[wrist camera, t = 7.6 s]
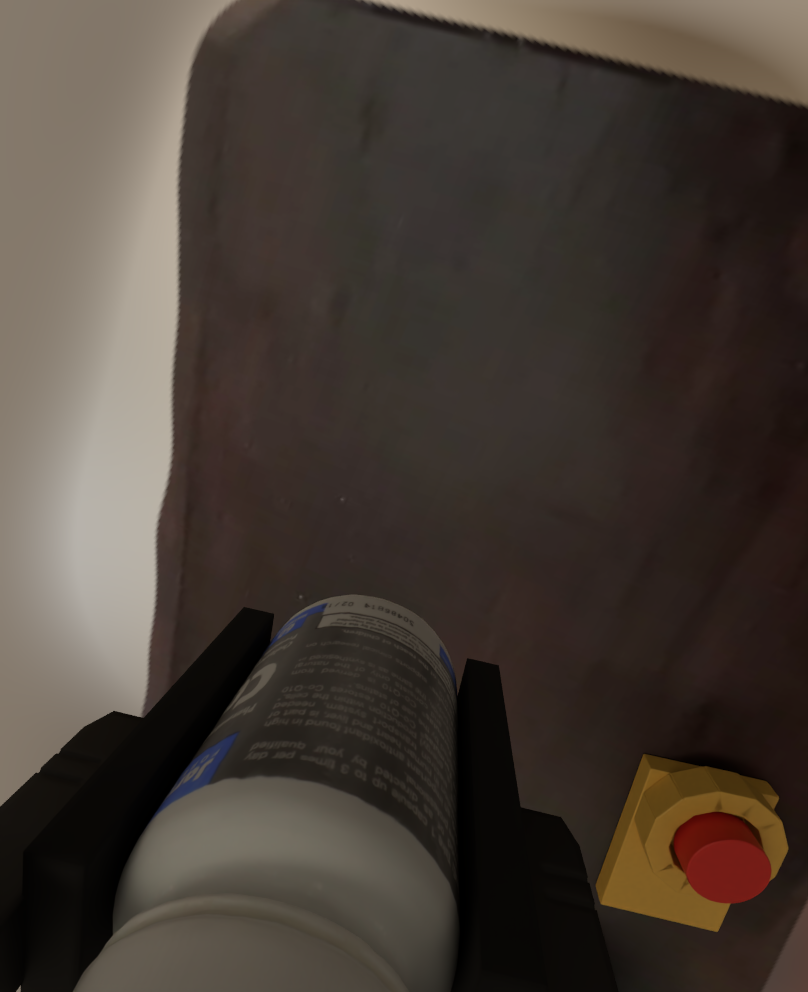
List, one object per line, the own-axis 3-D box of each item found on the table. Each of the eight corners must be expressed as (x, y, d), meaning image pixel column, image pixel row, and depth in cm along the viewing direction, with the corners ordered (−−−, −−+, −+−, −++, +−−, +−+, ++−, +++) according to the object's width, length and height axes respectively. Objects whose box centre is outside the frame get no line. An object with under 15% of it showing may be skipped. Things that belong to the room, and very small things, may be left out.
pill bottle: (283, 569, 12) (-56, 956, 4) (476, 615, 12) (529, 1115, 4) (256, 736, 13) (-52, 1298, 5) (433, 780, 13) (400, 1437, 5)
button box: (648, 739, 29) (669, 780, 26) (773, 766, 29) (809, 811, 26) (595, 885, 32) (608, 936, 29) (708, 912, 31) (733, 966, 29)
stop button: (686, 803, 27) (702, 832, 25) (763, 820, 27) (784, 851, 25) (663, 861, 28) (676, 893, 26) (737, 879, 28) (755, 912, 26)
